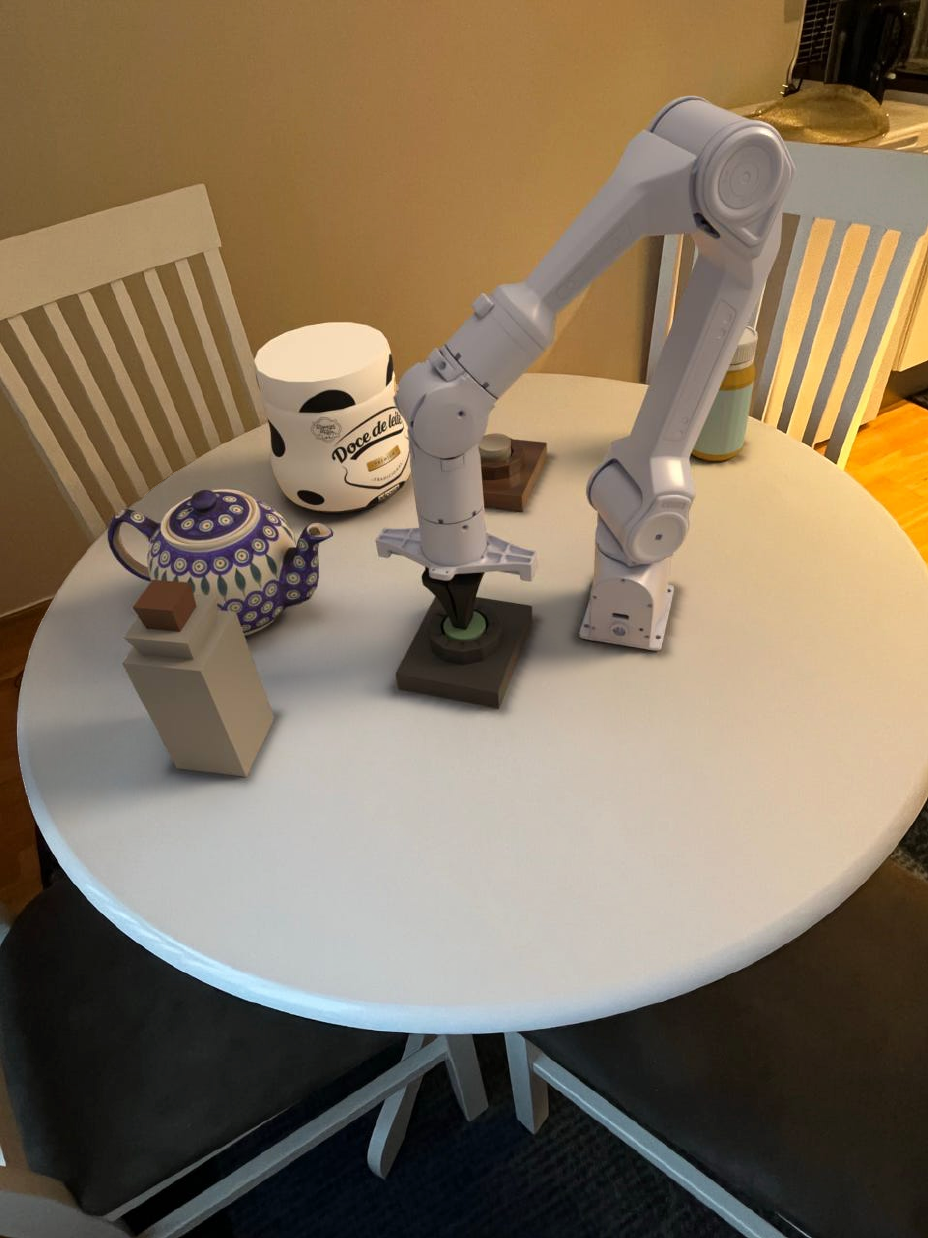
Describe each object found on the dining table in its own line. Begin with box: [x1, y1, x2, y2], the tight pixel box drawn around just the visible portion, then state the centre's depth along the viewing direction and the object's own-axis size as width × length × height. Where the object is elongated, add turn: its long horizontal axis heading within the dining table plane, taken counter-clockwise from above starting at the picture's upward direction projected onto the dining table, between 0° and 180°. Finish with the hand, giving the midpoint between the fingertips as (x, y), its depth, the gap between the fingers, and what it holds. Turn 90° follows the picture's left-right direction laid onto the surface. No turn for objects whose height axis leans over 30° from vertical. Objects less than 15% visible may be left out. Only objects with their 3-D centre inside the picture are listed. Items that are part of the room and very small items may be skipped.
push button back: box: [480, 437, 548, 512], centre depth 102 cm, size 12×10×4 cm
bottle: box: [691, 324, 759, 462], centre depth 100 cm, size 7×7×15 cm
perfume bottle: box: [121, 580, 275, 778], centre depth 70 cm, size 7×7×18 cm
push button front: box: [395, 595, 534, 709], centre depth 80 cm, size 12×10×4 cm
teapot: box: [107, 488, 334, 636], centre depth 85 cm, size 25×15×15 cm, turn 76°
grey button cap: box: [478, 432, 511, 462], centre depth 101 cm, size 4×4×2 cm
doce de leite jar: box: [253, 321, 411, 514], centre depth 99 cm, size 17×17×18 cm
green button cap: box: [444, 611, 486, 642], centre depth 79 cm, size 4×4×2 cm
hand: (463, 621), depth 79 cm, fingers closed, pressing on green button cap
